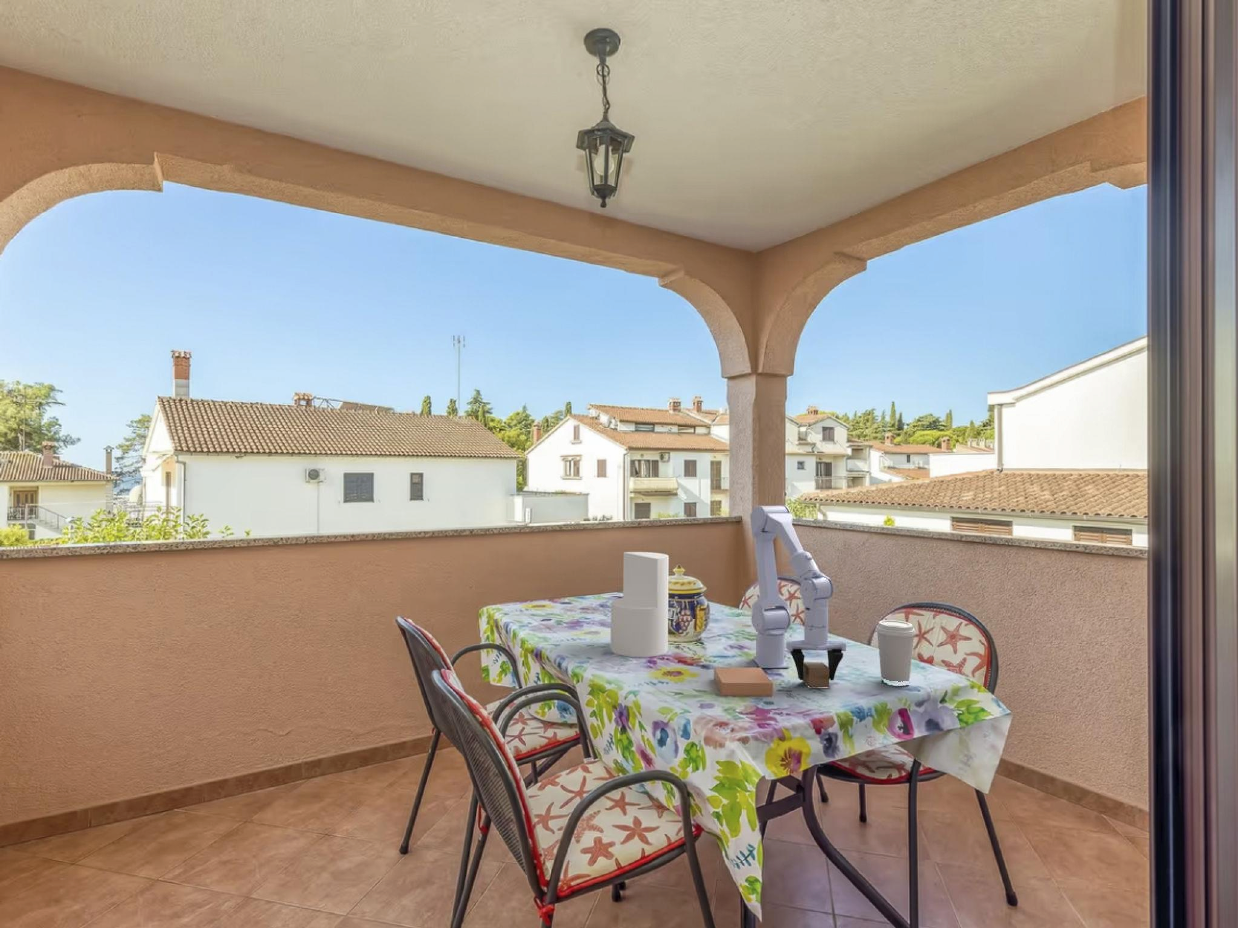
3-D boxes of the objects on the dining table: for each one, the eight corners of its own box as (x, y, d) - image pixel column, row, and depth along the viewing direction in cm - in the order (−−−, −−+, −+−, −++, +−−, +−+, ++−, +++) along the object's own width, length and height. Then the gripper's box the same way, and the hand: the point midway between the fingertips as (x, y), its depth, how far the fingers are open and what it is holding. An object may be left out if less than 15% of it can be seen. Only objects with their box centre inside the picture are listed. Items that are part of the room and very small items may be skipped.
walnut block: (802, 681, 164) (803, 662, 164) (822, 681, 164) (822, 662, 164) (809, 688, 159) (809, 668, 159) (829, 688, 159) (829, 668, 159)
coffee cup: (868, 682, 164) (868, 623, 164) (884, 674, 170) (884, 617, 170) (906, 691, 157) (907, 630, 157) (921, 682, 163) (921, 623, 164)
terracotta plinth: (714, 679, 165) (714, 667, 165) (760, 679, 165) (760, 667, 165) (722, 695, 153) (722, 682, 153) (772, 695, 153) (772, 682, 153)
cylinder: (645, 638, 205) (645, 550, 205) (679, 651, 190) (680, 556, 191) (599, 646, 195) (600, 554, 195) (632, 660, 181) (633, 560, 181)
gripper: (792, 628, 157) (791, 684, 157) (850, 628, 157) (850, 684, 157) (784, 621, 164) (783, 674, 164) (840, 622, 165) (840, 675, 164)
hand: (815, 679), depth 161 cm, fingers open, 7 cm apart
